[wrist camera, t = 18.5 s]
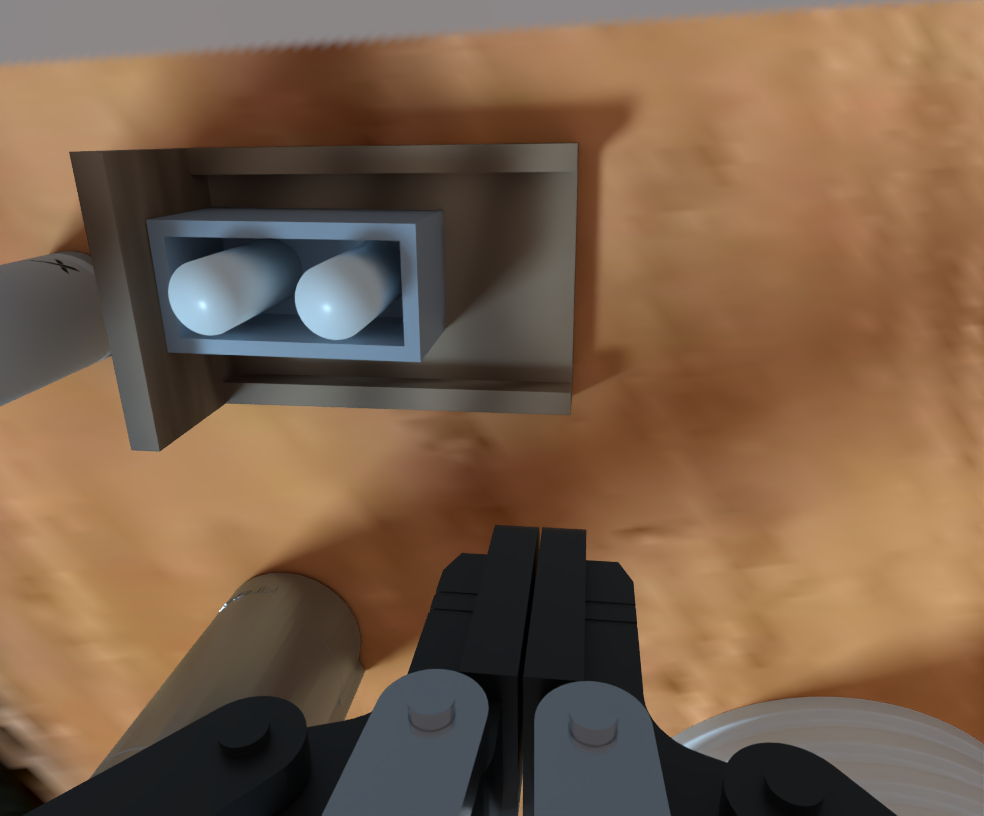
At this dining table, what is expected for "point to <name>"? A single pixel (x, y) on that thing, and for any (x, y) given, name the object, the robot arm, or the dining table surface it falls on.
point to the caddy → (301, 282)
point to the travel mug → (48, 321)
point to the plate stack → (862, 749)
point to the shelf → (349, 185)
